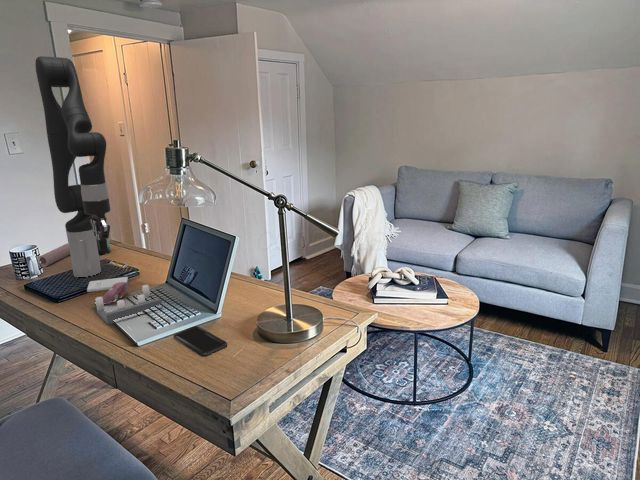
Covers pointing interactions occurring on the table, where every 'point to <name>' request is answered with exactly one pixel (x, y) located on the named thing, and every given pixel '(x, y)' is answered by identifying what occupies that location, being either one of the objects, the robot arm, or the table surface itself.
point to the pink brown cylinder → (54, 255)
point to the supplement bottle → (103, 251)
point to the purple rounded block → (115, 291)
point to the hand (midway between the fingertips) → (103, 250)
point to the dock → (128, 310)
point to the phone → (200, 341)
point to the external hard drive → (104, 284)
